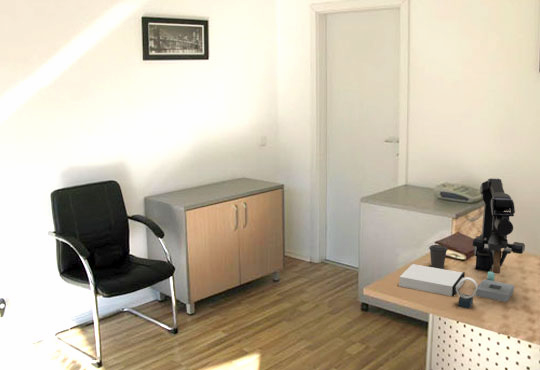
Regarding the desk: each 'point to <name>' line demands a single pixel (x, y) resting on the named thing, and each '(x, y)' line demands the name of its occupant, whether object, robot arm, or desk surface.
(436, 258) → the coffee cup
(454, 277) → the disc drive
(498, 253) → the walnut pin
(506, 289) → the block
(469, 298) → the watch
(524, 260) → the desk surface
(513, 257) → the desk surface
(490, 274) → the teal pin
